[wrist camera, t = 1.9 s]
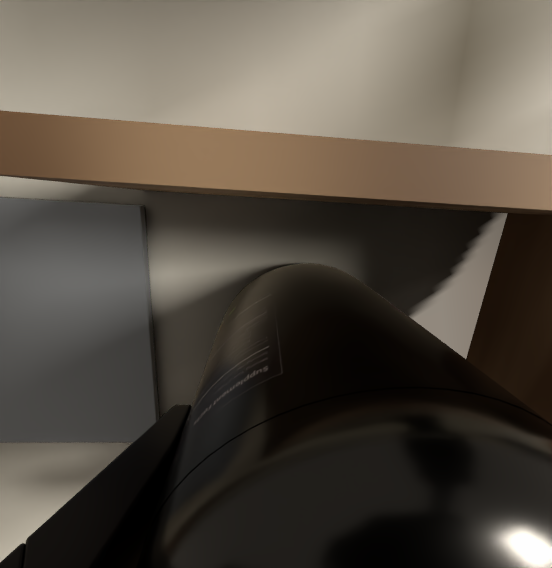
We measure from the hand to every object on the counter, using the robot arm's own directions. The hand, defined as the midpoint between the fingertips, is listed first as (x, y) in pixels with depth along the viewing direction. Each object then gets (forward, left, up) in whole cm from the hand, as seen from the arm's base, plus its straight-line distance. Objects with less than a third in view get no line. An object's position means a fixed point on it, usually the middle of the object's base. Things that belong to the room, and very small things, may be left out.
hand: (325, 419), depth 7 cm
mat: (+5, -9, -4) cm, 12 cm away
